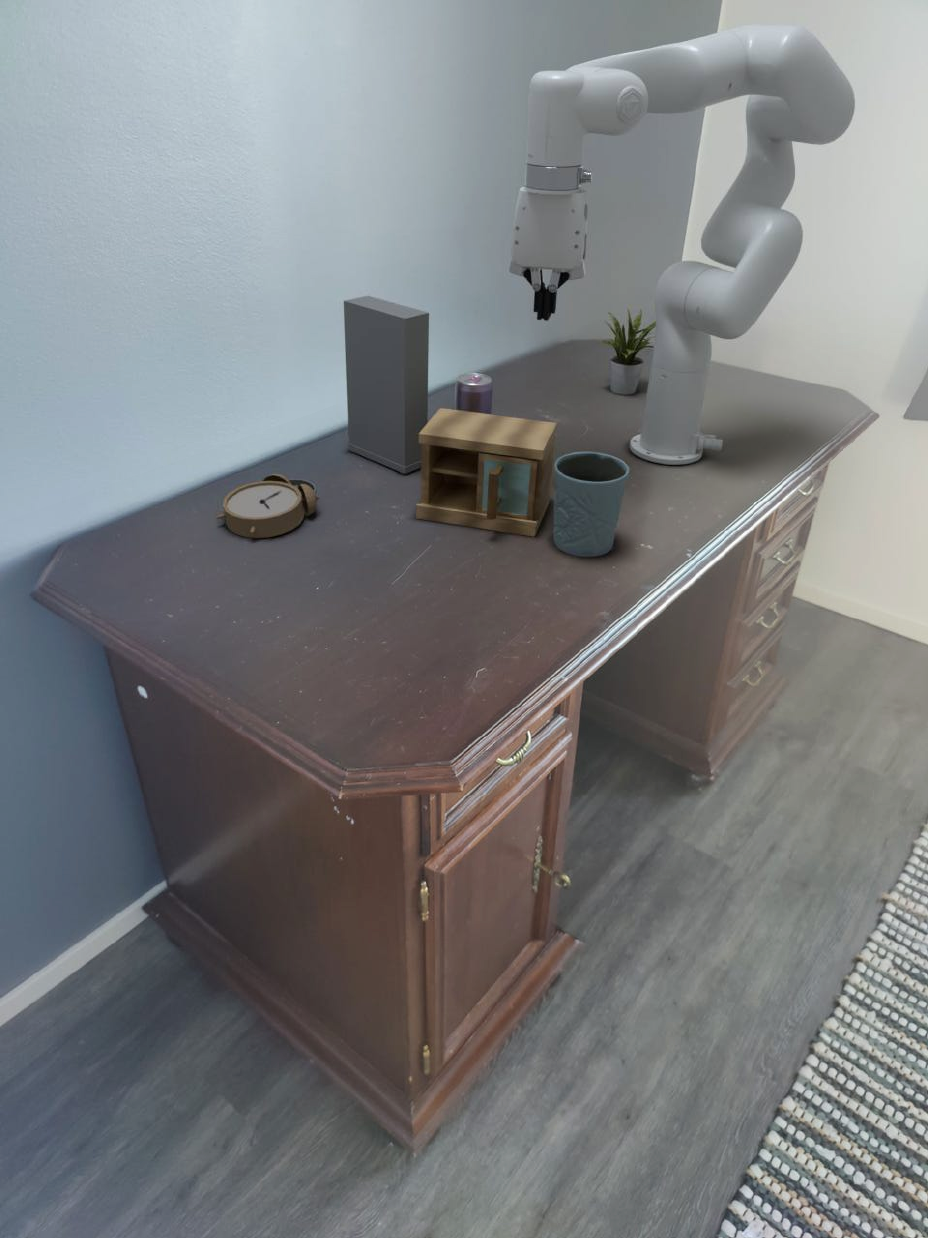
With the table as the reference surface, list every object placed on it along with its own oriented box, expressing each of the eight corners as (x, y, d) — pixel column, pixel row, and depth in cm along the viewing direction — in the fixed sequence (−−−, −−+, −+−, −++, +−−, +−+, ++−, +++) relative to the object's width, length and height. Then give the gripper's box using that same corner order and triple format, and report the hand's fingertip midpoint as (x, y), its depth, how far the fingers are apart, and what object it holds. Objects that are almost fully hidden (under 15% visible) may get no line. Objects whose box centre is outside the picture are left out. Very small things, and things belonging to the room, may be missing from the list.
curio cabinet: (549, 502, 139) (557, 422, 132) (534, 536, 129) (542, 452, 122) (438, 486, 143) (439, 407, 135) (416, 518, 133) (416, 435, 126)
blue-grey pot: (619, 531, 132) (631, 455, 125) (615, 565, 123) (627, 485, 117) (551, 523, 133) (559, 447, 127) (542, 555, 125) (550, 476, 118)
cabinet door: (532, 519, 130) (538, 459, 125) (525, 536, 126) (530, 474, 121) (477, 511, 132) (479, 451, 126) (467, 527, 127) (470, 465, 122)
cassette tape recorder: (430, 465, 149) (433, 311, 136) (404, 475, 145) (405, 319, 132) (374, 441, 157) (371, 294, 143) (347, 451, 153) (342, 300, 139)
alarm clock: (204, 504, 128) (279, 456, 136) (213, 532, 131) (286, 483, 139) (258, 528, 122) (333, 477, 131) (266, 557, 125) (338, 505, 134)
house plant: (666, 405, 177) (680, 322, 168) (596, 403, 177) (606, 319, 168) (654, 382, 189) (666, 302, 180) (589, 379, 189) (598, 300, 180)
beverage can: (493, 464, 151) (498, 376, 142) (479, 477, 146) (483, 387, 138) (461, 457, 153) (465, 370, 144) (446, 469, 148) (449, 380, 140)
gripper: (611, 177, 121) (598, 315, 132) (504, 171, 124) (499, 306, 135) (605, 185, 115) (591, 329, 126) (492, 179, 118) (488, 320, 128)
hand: (544, 317), depth 130 cm, fingers closed
